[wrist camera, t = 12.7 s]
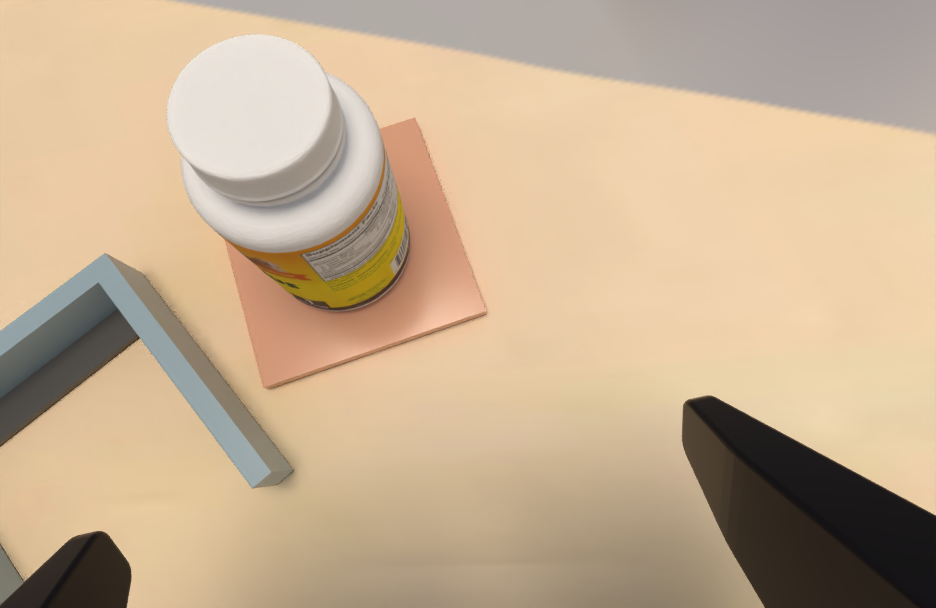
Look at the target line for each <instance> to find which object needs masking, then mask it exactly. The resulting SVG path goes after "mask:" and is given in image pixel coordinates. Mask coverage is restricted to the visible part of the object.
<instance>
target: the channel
mask: <svg viewBox="0 0 936 608" xmlns="http://www.w3.org/2000/svg"><path fill="white" fill-rule="evenodd" d="M139 337H140V339H141V340H142V341H143V343H144V344H145V345H146V347H147V348H148V349H149V351H150V352H151V353H152V355H153V356H154V357H155V359H156V360H157V361H158V363H159V364H160V365H161V367H162V368H163V369H164V371H165V372H166V373H167V375H168V376H169V377H170V379H171V380H172V381H173V383H174V384H175V386H176V387H177V388H178V390H179V391H180V392H181V394H182V395H183V396H184V398H185V399H186V400H187V402H188V403H189V404H190V406H191V407H192V408H193V410H194V411H195V412H196V414H197V415H198V416H199V418H200V419H201V420H202V422H203V423H204V424H205V426H206V427H207V428H208V430H209V431H210V432H211V434H212V435H213V436H214V438H215V439H216V440H217V442H218V443H219V444H220V446H221V447H222V448H223V450H224V451H225V453H226V454H227V455H228V457H229V458H230V459H231V461H232V462H233V463H234V465H235V466H236V467H237V469H238V470H239V471H240V473H241V474H242V475H243V477H244V478H245V479H246V481H247V482H248V483H249V485H250V486H251V487H252V488H259V487H266V486H273V485H277V484H279V483H280V482H281V481H282V480H283V479H284V478H286V477H287V476H288V475H289V474H290V473H291V472H293V471H294V470H293V468H292V467H291V466H290V465H289V463H288V462H287V461H286V459H285V458H284V457H283V455H282V454H281V453H280V452H279V450H278V449H277V448H276V446H275V445H274V444H273V442H272V441H271V440H270V439H269V437H268V436H267V435H266V433H265V432H264V431H263V429H262V428H261V427H260V426H259V424H258V423H257V422H256V420H255V419H254V418H253V416H252V415H251V414H250V413H249V411H248V410H247V409H246V407H245V406H244V405H243V403H242V402H241V401H240V400H239V398H238V397H237V396H236V394H235V393H234V392H233V390H232V389H231V388H230V387H229V385H228V384H227V383H226V381H225V380H224V379H223V377H222V376H221V375H220V374H219V372H218V371H217V370H216V368H215V367H214V366H213V364H212V363H211V362H210V361H209V359H208V358H207V357H206V355H205V354H204V353H203V351H202V350H201V349H200V348H199V346H198V345H197V344H196V342H195V341H194V340H193V339H192V337H191V336H190V335H189V333H188V332H187V331H186V329H185V328H184V327H183V326H182V324H181V323H180V322H179V320H178V319H177V318H176V316H175V315H174V314H173V313H172V311H171V310H170V309H169V307H168V306H167V305H166V303H165V302H164V301H163V300H162V298H161V297H160V296H159V294H158V293H157V292H156V290H155V289H154V288H153V287H152V285H151V284H150V283H149V281H148V280H147V279H146V277H145V276H144V275H143V274H142V273H141V272H139V271H137V270H135V269H134V268H132V267H130V266H128V265H126V264H124V263H123V262H121V261H119V260H117V259H115V258H113V257H112V256H110V255H108V254H106V253H104V254H103V255H102V256H100V257H99V258H98V259H96V260H95V261H94V262H92V263H91V264H90V265H88V266H87V267H86V268H84V269H83V270H82V271H80V272H79V273H78V274H76V275H75V276H74V277H72V278H71V279H70V280H68V281H67V282H66V283H64V284H63V285H61V286H60V287H59V288H57V289H56V290H55V291H53V292H52V293H51V294H49V295H48V296H47V297H45V298H44V299H43V300H41V301H40V302H39V303H37V304H36V305H35V306H33V307H32V308H31V309H29V310H28V311H27V312H25V313H24V314H23V315H21V316H20V317H19V318H17V319H16V320H15V321H13V322H12V323H10V324H9V325H8V326H6V327H5V328H4V329H2V330H1V331H0V446H1V445H2V444H3V443H5V442H6V441H7V440H8V439H10V438H11V437H12V436H14V435H15V434H16V433H17V432H19V431H20V430H21V429H23V428H24V427H25V426H26V425H28V424H29V423H30V422H32V421H33V420H34V419H35V418H37V417H38V416H39V415H41V414H42V413H43V412H44V411H46V410H47V409H48V408H49V407H51V406H52V405H53V404H55V403H56V402H57V401H58V400H60V399H61V398H62V397H64V396H65V395H66V394H67V393H69V392H70V391H71V390H73V389H74V388H75V387H76V386H78V385H79V384H80V383H82V382H83V381H84V380H85V379H87V378H88V377H89V376H91V375H92V374H93V373H94V372H96V371H97V370H98V369H100V368H101V367H102V366H103V365H105V364H106V363H107V362H109V361H110V360H111V359H112V358H114V357H115V356H116V355H118V354H119V353H120V352H121V351H123V350H124V349H125V348H127V347H128V346H129V345H130V344H132V343H133V342H134V341H136V340H137V339H138V338H139ZM23 583H24V582H23V581H22V579H21V577H20V576H19V574H18V573H17V571H16V569H15V568H14V566H13V565H12V563H11V561H10V560H9V558H8V557H7V555H6V553H5V552H4V550H3V549H2V547H1V545H0V605H1V604H2V603H3V602H4V601H5V600H6V599H7V598H8V597H9V596H10V595H11V594H12V593H13V592H14V591H15V590H16V589H18V588H19V587H20V586H21V585H22V584H23Z"/></svg>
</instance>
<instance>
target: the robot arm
mask: <svg viewBox="0 0 936 608" xmlns="http://www.w3.org/2000/svg"><path fill="white" fill-rule="evenodd" d="M682 442H683V447H684V450H685V453H686V456H687V458H688V460H689V462H690V464H691V467H692V469H693V471H694V473H695V475H696V478H697V480H698V482H699V484H700V486H701V488H702V491H703V493H704V495H705V497H706V499H707V502H708V504H709V506H710V508H711V510H712V512H713V515H714V517H715V519H716V521H717V523H718V526H719V528H720V530H721V532H722V534H723V536H724V538H725V540H726V542H727V544H728V546H729V547H730V549H731V551H732V553H733V555H734V556H735V558H736V560H737V561H738V563H739V565H740V566H741V568H742V570H743V571H744V573H745V575H746V576H747V578H748V580H749V581H750V583H751V585H752V587H753V588H754V590H755V592H756V593H757V595H758V597H759V598H760V600H761V602H762V603H763V605H764V607H765V608H936V515H934V514H932V513H930V512H928V511H926V510H925V509H923V508H921V507H919V506H917V505H915V504H913V503H912V502H910V501H908V500H906V499H904V498H902V497H900V496H898V495H897V494H895V493H893V492H891V491H889V490H887V489H885V488H884V487H882V486H880V485H878V484H876V483H874V482H872V481H871V480H869V479H867V478H865V477H863V476H861V475H859V474H857V473H856V472H854V471H852V470H850V469H848V468H846V467H844V466H843V465H841V464H839V463H837V462H835V461H833V460H831V459H830V458H828V457H826V456H824V455H822V454H820V453H818V452H816V451H815V450H813V449H811V448H809V447H807V446H805V445H803V444H802V443H800V442H798V441H796V440H794V439H792V438H790V437H789V436H787V435H785V434H783V433H781V432H779V431H777V430H776V429H774V428H772V427H770V426H768V425H766V424H764V423H762V422H761V421H759V420H757V419H755V418H753V417H751V416H749V415H748V414H746V413H744V412H742V411H740V410H738V409H736V408H735V407H733V406H731V405H729V404H727V403H725V402H723V401H721V400H720V399H718V398H716V397H713V396H702V397H698V398H693V399H689V400H687V401H686V402H685V403H684V405H683V423H682ZM130 585H131V568H130V565H129V563H128V561H127V560H126V558H125V557H124V556H123V554H122V553H121V551H120V550H119V549H118V547H117V546H116V545H115V543H114V542H113V540H112V539H111V538H110V536H109V535H108V534H107V533H105V532H103V531H96V532H91V533H87V534H82V535H78V536H75V537H73V538H71V539H70V540H69V541H68V542H66V543H65V544H64V545H63V546H62V547H61V548H60V549H59V550H58V551H57V552H56V553H55V554H54V555H53V556H52V557H50V558H49V559H48V560H47V561H46V562H45V563H44V564H43V565H42V566H41V567H40V568H39V569H38V570H37V571H36V572H35V573H33V574H32V575H31V576H30V577H29V578H28V579H27V580H26V581H25V582H24V583H23V584H22V585H21V586H20V587H19V588H18V589H16V590H15V591H14V592H13V593H12V594H11V595H10V596H9V597H8V598H7V599H6V600H5V601H4V602H3V603H2V604H1V605H0V608H127V602H128V596H129V590H130Z"/></svg>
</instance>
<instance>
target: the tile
mask: <svg viewBox="0 0 936 608" xmlns="http://www.w3.org/2000/svg"><path fill="white" fill-rule="evenodd" d="M379 130H380V133H381V136H382V139H383V142H384V145H385V149H386V152H387V155H388V159H389V162H390V165H391V168H392V172H393V175H394V178H395V181H396V185H397V188H398V191H399V195H400V198H401V201H402V204H403V207H404V211H405V215H406V218H407V222H408V226H409V232H410V250H409V256H408V260H407V263H406V266H405V268H404V270H403V272H402V274H401V276H400V277H399V279H398V280H397V282H396V283H395V284H394V285H393V287H392V288H391V289H390V290H389V291H388V292H387V293H385V294H384V295H383V296H382V297H380V298H379V299H377V300H376V301H374V302H372V303H370V304H368V305H366V306H363V307H360V308H357V309H353V310H347V311H326V310H321V309H318V308H314V307H311V306H309V305H307V304H305V303H303V302H301V301H299V300H298V299H296V298H295V297H293V296H292V295H291V294H289V293H288V292H287V291H286V290H285V289H283V288H282V287H281V286H280V285H279V284H278V283H276V282H275V281H274V280H273V279H272V278H270V277H269V276H268V275H267V274H265V273H264V272H263V271H262V270H261V269H259V268H258V267H257V266H256V265H255V264H254V263H252V262H251V261H250V260H249V259H248V258H246V257H245V256H244V255H243V254H241V253H240V252H239V251H238V250H237V249H236V248H235V247H233V246H232V245H231V244H230V243H229V242H227V241H226V240H225V242H226V246H227V250H228V254H229V257H230V261H231V265H232V269H233V273H234V277H235V280H236V284H237V288H238V292H239V296H240V300H241V303H242V307H243V311H244V315H245V319H246V323H247V326H248V330H249V334H250V338H251V342H252V346H253V349H254V353H255V357H256V361H257V365H258V369H259V372H260V376H261V380H262V384H263V387H264V388H267V389H271V388H274V387H276V386H279V385H282V384H285V383H288V382H291V381H294V380H297V379H300V378H303V377H305V376H308V375H311V374H314V373H317V372H320V371H323V370H326V369H329V368H332V367H334V366H337V365H340V364H343V363H346V362H349V361H352V360H355V359H358V358H361V357H363V356H366V355H369V354H372V353H375V352H378V351H381V350H384V349H387V348H390V347H392V346H395V345H398V344H401V343H404V342H407V341H410V340H413V339H416V338H419V337H421V336H424V335H427V334H430V333H433V332H436V331H439V330H442V329H445V328H448V327H450V326H453V325H456V324H459V323H462V322H465V321H468V320H471V319H474V318H477V317H479V316H482V315H485V314H486V309H485V306H484V303H483V301H482V298H481V295H480V292H479V290H478V287H477V284H476V282H475V279H474V276H473V273H472V271H471V268H470V265H469V263H468V260H467V257H466V254H465V252H464V249H463V246H462V244H461V241H460V238H459V235H458V233H457V230H456V227H455V225H454V222H453V219H452V216H451V214H450V211H449V208H448V206H447V203H446V200H445V197H444V195H443V192H442V189H441V187H440V184H439V181H438V178H437V176H436V173H435V170H434V168H433V165H432V162H431V159H430V157H429V154H428V151H427V148H426V146H425V143H424V140H423V138H422V135H421V132H420V129H419V127H418V124H417V121H416V119H415V118H412V119H409V120H406V121H403V122H400V123H397V124H394V125H390V126H387V127H384V128H381V129H379Z"/></svg>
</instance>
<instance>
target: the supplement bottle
mask: <svg viewBox="0 0 936 608" xmlns="http://www.w3.org/2000/svg"><path fill="white" fill-rule="evenodd" d="M167 124H168V129H169V133H170V136H171V138H172V141H173V143H174V145H175V147H176V148H177V150H178V151H179V153H180V154H181V171H182V178H183V182H184V186H185V189H186V192H187V195H188V197H189V199H190V201H191V203H192V205H193V206H194V208H195V210H196V211H197V212H198V214H199V215H200V216H201V217H202V219H203V220H204V221H205V222H206V223H207V224H208V225H209V226H210V227H211V228H212V229H213V230H214V231H216V232H217V233H218V234H219V235H220V236H222V237H223V238H224V239H225V240H226V241H227V242H229V243H230V244H231V245H232V246H233V247H235V248H236V249H237V250H238V251H239V252H240V253H241V254H243V255H244V256H245V257H246V258H248V259H249V260H250V261H251V262H252V263H254V264H255V265H256V266H257V267H258V268H259V269H261V270H262V271H263V272H264V273H265V274H267V275H268V276H269V277H270V278H272V279H273V280H274V281H275V282H276V283H278V284H279V285H280V286H281V287H282V288H283V289H285V290H286V291H287V292H288V293H289V294H291V295H292V296H293V297H295V298H296V299H298V300H299V301H301V302H303V303H305V304H307V305H309V306H311V307H314V308H318V309H321V310H326V311H347V310H353V309H357V308H360V307H363V306H366V305H368V304H370V303H372V302H374V301H376V300H377V299H379V298H380V297H382V296H383V295H384V294H385V293H387V292H388V291H389V290H390V289H391V288H392V287H393V285H394V284H395V283H396V282H397V280H398V279H399V277H400V276H401V274H402V272H403V270H404V268H405V266H406V263H407V260H408V256H409V250H410V232H409V226H408V222H407V218H406V215H405V211H404V207H403V204H402V201H401V198H400V195H399V191H398V188H397V185H396V181H395V178H394V175H393V172H392V168H391V165H390V162H389V159H388V155H387V152H386V149H385V145H384V142H383V139H382V136H381V133H380V130H379V127H378V124H377V122H376V120H375V118H374V116H373V114H372V112H371V110H370V108H369V107H368V105H367V104H366V102H365V101H364V100H363V99H362V97H361V96H360V95H359V94H358V93H357V92H356V91H355V90H354V89H353V88H352V87H350V86H349V85H347V84H346V83H345V82H344V81H342V80H341V79H339V78H337V77H335V76H333V75H331V74H329V73H326V72H325V71H324V69H323V68H322V67H321V65H320V64H319V62H318V61H317V60H316V59H315V58H314V57H313V56H312V55H311V54H310V53H309V52H308V51H306V50H305V49H304V48H302V47H301V46H299V45H297V44H296V43H293V42H291V41H289V40H286V39H284V38H280V37H276V36H271V35H257V34H253V35H242V36H238V37H233V38H229V39H227V40H224V41H221V42H219V43H216V44H215V45H213V46H211V47H209V48H207V49H205V50H204V51H202V52H201V53H200V54H198V55H197V56H196V57H195V58H194V59H193V60H192V61H191V62H189V63H188V65H187V66H186V67H185V68H184V69H183V70H182V72H181V73H180V75H179V76H178V78H177V79H176V81H175V83H174V85H173V87H172V90H171V93H170V96H169V100H168V105H167Z"/></svg>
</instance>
